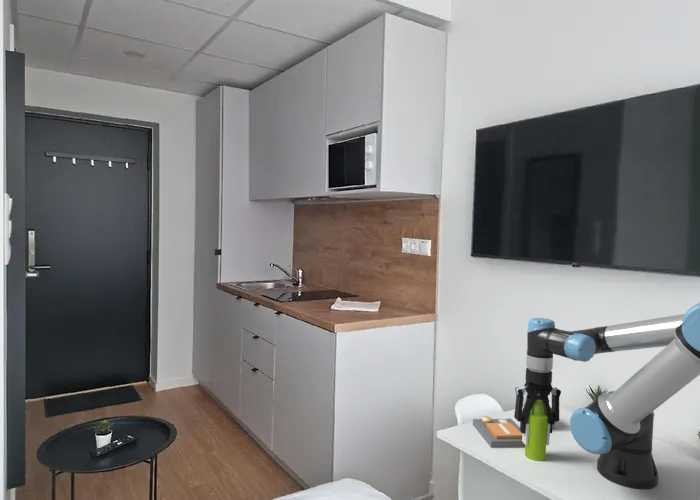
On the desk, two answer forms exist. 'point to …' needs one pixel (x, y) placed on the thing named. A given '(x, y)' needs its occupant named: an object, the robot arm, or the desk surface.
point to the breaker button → (503, 431)
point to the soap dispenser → (537, 432)
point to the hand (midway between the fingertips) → (535, 443)
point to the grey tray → (493, 443)
